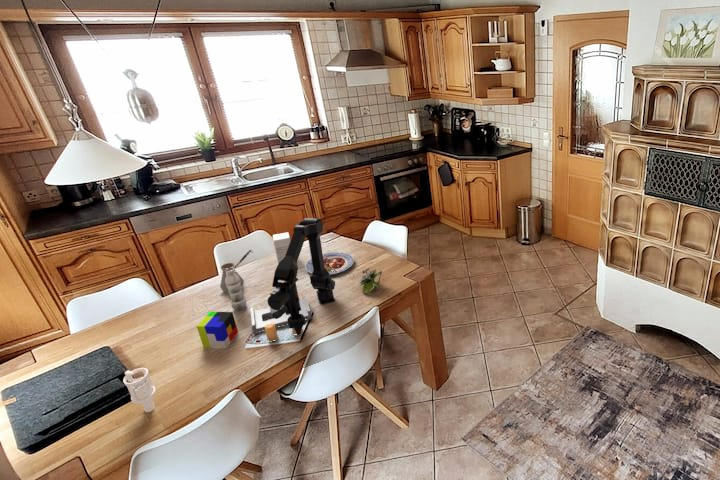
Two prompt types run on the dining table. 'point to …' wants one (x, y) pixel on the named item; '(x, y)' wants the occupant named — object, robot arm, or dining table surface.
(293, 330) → the orange tapered peg
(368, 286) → the green leafy clump
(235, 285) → the plastic bottle
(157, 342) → the dining table surface
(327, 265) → the ceramic plate
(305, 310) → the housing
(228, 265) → the coffee pot
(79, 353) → the dining table surface
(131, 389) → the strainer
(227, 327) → the puzzle toy
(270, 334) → the orange rounded plug
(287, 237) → the supplement box
